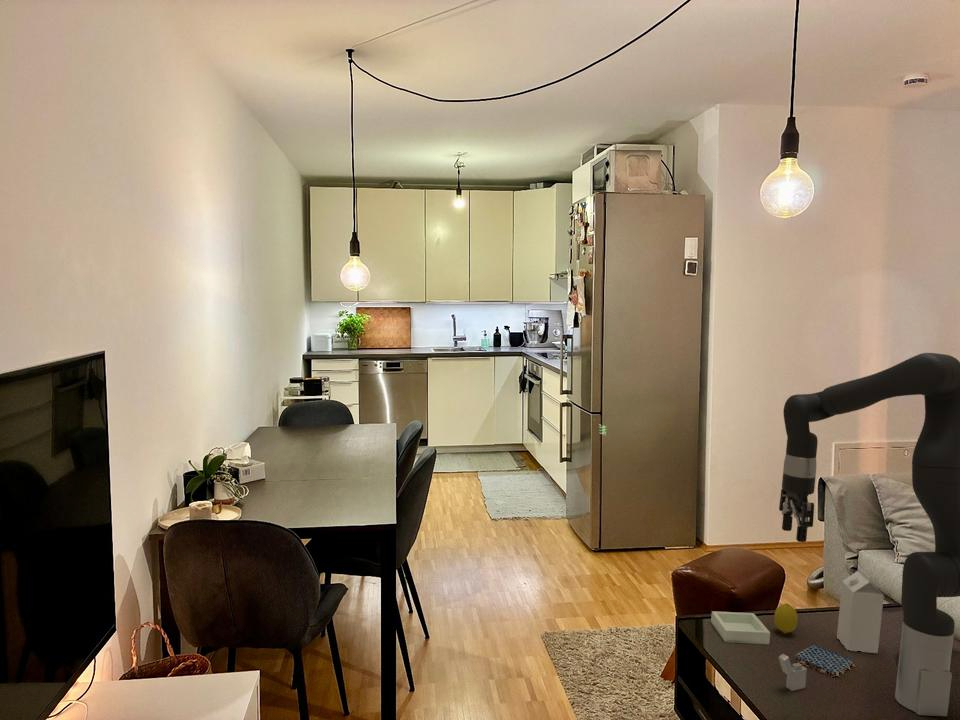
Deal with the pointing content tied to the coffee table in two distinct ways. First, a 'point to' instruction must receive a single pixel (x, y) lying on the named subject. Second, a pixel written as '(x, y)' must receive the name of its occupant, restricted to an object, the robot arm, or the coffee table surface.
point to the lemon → (785, 618)
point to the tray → (740, 627)
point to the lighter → (793, 673)
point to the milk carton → (860, 613)
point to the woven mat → (824, 660)
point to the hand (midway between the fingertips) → (793, 535)
